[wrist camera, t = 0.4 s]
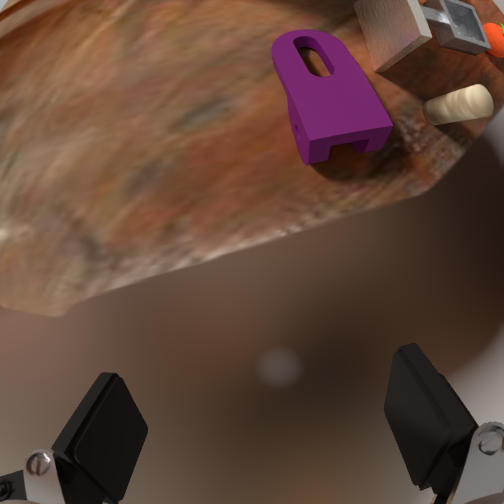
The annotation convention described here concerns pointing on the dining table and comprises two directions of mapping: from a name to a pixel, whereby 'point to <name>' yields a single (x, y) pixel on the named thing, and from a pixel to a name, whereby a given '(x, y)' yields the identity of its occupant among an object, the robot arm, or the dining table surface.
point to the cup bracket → (417, 28)
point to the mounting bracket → (328, 98)
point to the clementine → (495, 39)
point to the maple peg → (459, 105)
